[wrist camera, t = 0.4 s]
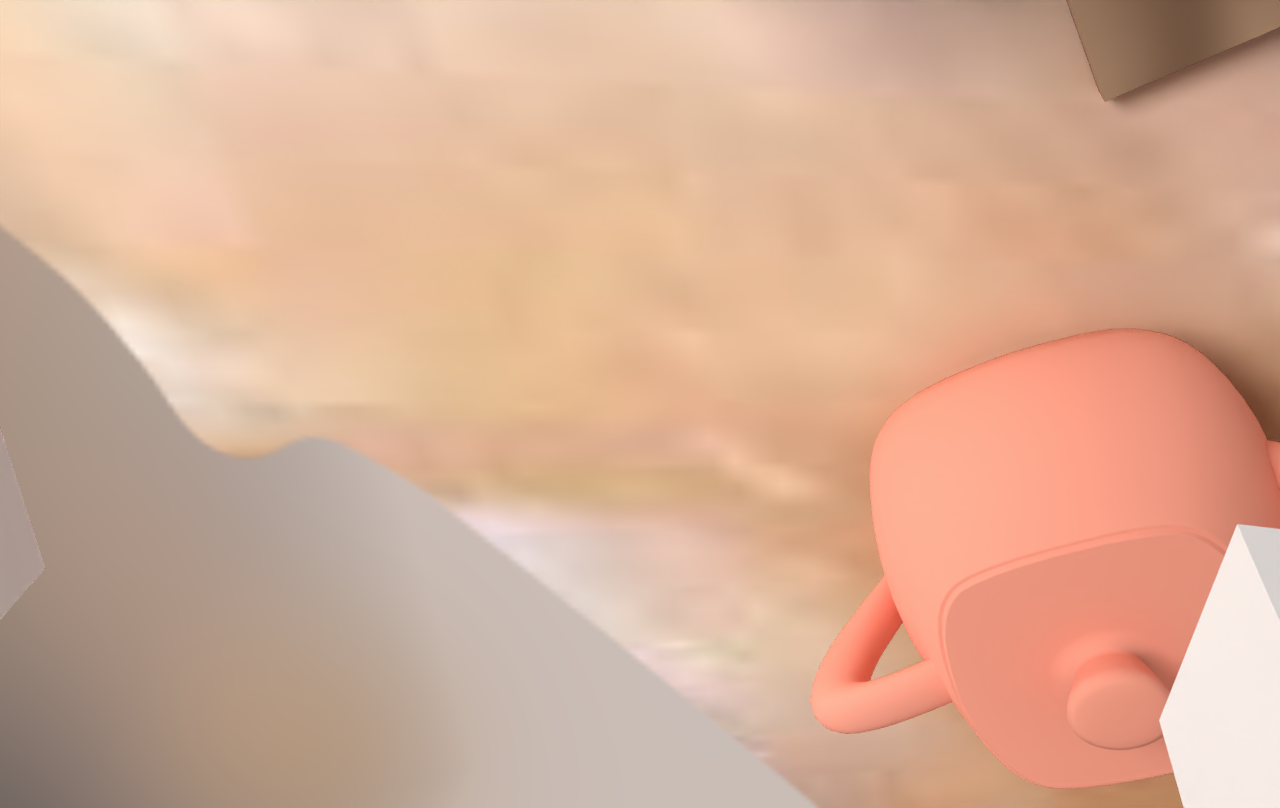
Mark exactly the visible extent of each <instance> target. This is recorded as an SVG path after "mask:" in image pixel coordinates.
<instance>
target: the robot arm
mask: <svg viewBox="0 0 1280 808" xmlns="http://www.w3.org/2000/svg"><path fill="white" fill-rule="evenodd" d="M44 569H45V566H44V563H43V560H42V557H41V554H40V551H39V547H38V544H37V541H36V538H35V535H34V532H33V528H32V525H31V522H30V519H29V516H28V513H27V510H26V507H25V503H24V500H23V497H22V494H21V491H20V488H19V484H18V482H17V478H16V475H15V472H14V469H13V466H12V463H11V459H10V456H9V453H8V450H7V447H6V444H5V441H4V437H3V434H2V431H1V428H0V619H1V618H2V617H3V616H4V615H5V613H6V612H7V611H8V610H9V609H10V608H11V607H12V605H13V604H14V603H15V602H16V601H17V600H18V599H19V598H20V597H21V595H22V594H23V593H24V592H25V591H26V590H27V589H28V587H29V586H30V585H31V584H32V583H33V582H34V581H35V580H36V578H37V577H38V576H39V575H40V574H41V573H42V572H43V570H44ZM1159 722H1160V725H1161V729H1162V732H1163V736H1164V740H1165V743H1166V747H1167V750H1168V754H1169V757H1170V761H1171V764H1172V768H1173V771H1174V775H1175V778H1176V782H1177V785H1178V789H1179V793H1180V796H1181V800H1182V803H1183V807H1184V808H1280V529H1276V528H1267V527H1259V526H1250V525H1242V524H1237V526H1236V528H1235V531H1234V533H1233V536H1232V538H1231V541H1230V544H1229V546H1228V549H1227V551H1226V554H1225V556H1224V559H1223V561H1222V564H1221V566H1220V569H1219V571H1218V574H1217V576H1216V579H1215V581H1214V584H1213V586H1212V589H1211V591H1210V594H1209V596H1208V599H1207V601H1206V604H1205V606H1204V609H1203V611H1202V614H1201V616H1200V619H1199V621H1198V624H1197V626H1196V629H1195V631H1194V634H1193V637H1192V639H1191V642H1190V644H1189V647H1188V649H1187V652H1186V654H1185V657H1184V659H1183V662H1182V664H1181V667H1180V669H1179V672H1178V674H1177V677H1176V679H1175V682H1174V684H1173V687H1172V689H1171V692H1170V694H1169V697H1168V699H1167V702H1166V704H1165V707H1164V709H1163V712H1162V714H1161V717H1160V719H1159Z"/></svg>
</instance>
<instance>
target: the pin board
mask: <svg viewBox="0 0 1280 808" xmlns="http://www.w3.org/2000/svg"><path fill="white" fill-rule="evenodd" d="M1066 1H1067V3H1068V6H1069V9H1070V12H1071V15H1072V17H1073V20H1074V23H1075V26H1076V29H1077V31H1078V34H1079V37H1080V40H1081V43H1082V45H1083V48H1084V51H1085V54H1086V57H1087V59H1088V62H1089V65H1090V68H1091V71H1092V73H1093V76H1094V79H1095V82H1096V85H1097V87H1098V90H1099V92H1100V94H1101V96H1102V98H1103V99H1104V101H1108V100H1110V99H1112V98H1115V97H1117V96H1119V95H1122V94H1124V93H1127V92H1129V91H1131V90H1134V89H1136V88H1138V87H1141V86H1143V85H1145V84H1148V83H1150V82H1152V81H1155V80H1157V79H1159V78H1162V77H1164V76H1166V75H1169V74H1171V73H1173V72H1176V71H1178V70H1181V69H1183V68H1185V67H1188V66H1190V65H1192V64H1195V63H1197V62H1199V61H1202V60H1204V59H1206V58H1209V57H1211V56H1213V55H1216V54H1218V53H1220V52H1223V51H1225V50H1228V49H1230V48H1232V47H1235V46H1237V45H1239V44H1242V43H1244V42H1246V41H1249V40H1251V39H1253V38H1256V37H1258V36H1260V35H1263V34H1265V33H1267V32H1270V31H1272V30H1275V29H1277V28H1279V27H1280V0H1066Z"/></svg>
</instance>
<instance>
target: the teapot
mask: <svg viewBox="0 0 1280 808" xmlns="http://www.w3.org/2000/svg"><path fill="white" fill-rule="evenodd" d="M870 494H871V505H872V516H873V525H874V530H875V536H876V541H877V546H878V551H879V555H880V560H881V563H882V566H883V570H884V573H885V575H884V577H883V578H882V579H881V581H880V582H879V583H878V584H877V586H876V587H875V588H874V589H873V590H872V592H871V593H870V594H869V595H868V597H867V598H866V599H865V600H864V602H863V603H862V604H861V606H860V607H859V608H858V610H857V611H856V612H855V613H854V615H853V616H852V617H851V619H850V620H849V621H848V623H847V624H846V625H845V627H844V628H843V629H842V631H841V632H840V634H839V635H838V636H837V638H836V639H835V641H834V642H833V644H832V645H831V646H830V648H829V650H828V651H827V653H826V655H825V657H824V658H823V660H822V662H821V665H820V667H819V669H818V671H817V674H816V677H815V680H814V683H813V686H812V691H811V697H810V698H811V706H812V710H813V713H814V715H815V717H816V719H817V720H818V721H819V722H820V723H821V724H822V725H823V726H824V727H825V728H827V729H829V730H831V731H834V732H839V733H845V734H851V733H862V732H867V731H871V730H876V729H880V728H884V727H887V726H890V725H894V724H897V723H900V722H902V721H905V720H908V719H911V718H914V717H916V716H919V715H921V714H924V713H926V712H929V711H932V710H934V709H936V708H939V707H941V706H944V705H946V704H948V703H951V702H953V704H954V705H955V706H956V708H957V709H958V711H959V712H960V713H961V715H962V716H963V717H964V719H965V720H966V721H967V722H968V724H969V725H970V726H971V728H972V729H973V730H974V731H975V733H976V734H977V735H978V736H979V738H980V739H981V740H982V741H983V742H984V744H985V745H986V746H987V747H988V748H989V749H990V751H991V752H992V753H993V754H994V755H995V756H996V757H997V758H998V759H999V760H1000V761H1001V762H1002V763H1003V764H1004V765H1005V766H1006V767H1007V768H1009V769H1010V770H1011V771H1012V772H1013V773H1015V774H1017V775H1018V776H1020V777H1021V778H1023V779H1024V780H1027V781H1029V782H1031V783H1034V784H1036V785H1040V786H1044V787H1049V788H1066V789H1068V788H1083V787H1094V786H1102V785H1110V784H1118V783H1124V782H1130V781H1136V780H1142V779H1147V778H1152V777H1157V776H1162V775H1167V774H1171V773H1174V771H1173V768H1172V764H1171V761H1170V757H1169V754H1168V750H1167V747H1166V743H1165V740H1164V736H1163V732H1162V729H1161V725H1160V722H1159V719H1160V717H1161V714H1162V712H1163V709H1164V707H1165V704H1166V702H1167V699H1168V697H1169V694H1170V692H1171V689H1172V687H1173V684H1174V682H1175V679H1176V677H1177V674H1178V672H1179V669H1180V667H1181V664H1182V662H1183V659H1184V657H1185V654H1186V652H1187V649H1188V647H1189V644H1190V642H1191V639H1192V637H1193V634H1194V631H1195V629H1196V626H1197V624H1198V621H1199V619H1200V616H1201V614H1202V611H1203V609H1204V606H1205V604H1206V601H1207V599H1208V596H1209V594H1210V591H1211V589H1212V586H1213V584H1214V581H1215V579H1216V576H1217V574H1218V571H1219V569H1220V566H1221V564H1222V561H1223V559H1224V556H1225V554H1226V551H1227V549H1228V546H1229V544H1230V541H1231V538H1232V536H1233V533H1234V531H1235V528H1236V526H1237V524H1242V525H1250V526H1259V527H1267V528H1276V529H1280V442H1275V441H1270V440H1267V438H1266V436H1265V434H1264V432H1263V430H1262V428H1261V426H1260V424H1259V422H1258V420H1257V418H1256V417H1255V415H1254V414H1253V412H1252V411H1251V409H1250V408H1249V406H1248V405H1247V403H1246V402H1245V400H1244V399H1243V397H1242V396H1241V395H1240V393H1239V392H1238V391H1237V390H1236V388H1235V387H1234V386H1233V385H1232V383H1231V382H1230V381H1229V380H1228V378H1227V377H1226V376H1225V375H1224V374H1223V373H1222V372H1221V371H1220V370H1219V369H1218V368H1217V367H1216V366H1215V365H1214V364H1213V363H1212V362H1211V361H1210V360H1209V359H1208V358H1206V357H1205V356H1204V355H1203V354H1202V353H1200V352H1199V351H1197V350H1196V349H1194V348H1193V347H1191V346H1190V345H1188V344H1187V343H1185V342H1184V341H1182V340H1179V339H1177V338H1174V337H1172V336H1169V335H1166V334H1164V333H1158V332H1153V331H1147V330H1142V329H1109V330H1103V331H1097V332H1091V333H1085V334H1079V335H1075V336H1071V337H1067V338H1063V339H1059V340H1055V341H1051V342H1047V343H1043V344H1039V345H1036V346H1032V347H1029V348H1025V349H1022V350H1019V351H1015V352H1012V353H1009V354H1006V355H1003V356H1001V357H998V358H995V359H992V360H990V361H987V362H984V363H981V364H979V365H977V366H974V367H972V368H969V369H967V370H965V371H962V372H960V373H957V374H955V375H953V376H950V377H948V378H946V379H944V380H942V381H940V382H938V383H936V384H934V385H932V386H930V387H928V388H926V389H924V390H922V391H921V392H919V393H917V394H916V395H915V396H913V397H912V398H911V399H909V400H908V401H907V402H905V403H904V404H903V405H901V406H900V407H899V408H898V409H896V410H895V411H894V413H893V414H892V415H891V416H890V417H889V419H888V420H887V421H886V422H885V424H884V425H883V427H882V429H881V431H880V433H879V435H878V437H877V439H876V441H875V443H874V448H873V452H872V457H871V462H870ZM902 622H903V623H904V626H905V628H906V630H907V632H908V635H909V636H910V638H911V640H912V642H913V643H914V645H915V647H916V649H917V650H918V652H919V654H920V656H921V657H922V659H923V660H924V661H922V662H920V663H918V664H915V665H913V666H910V667H908V668H905V669H903V670H900V671H898V672H895V673H892V674H890V675H887V676H884V677H881V678H878V679H874V680H870V679H871V676H872V674H873V671H874V669H875V667H876V665H877V663H878V661H879V659H880V657H881V655H882V653H883V652H884V650H885V649H886V647H887V645H888V644H889V642H890V641H891V639H892V638H893V636H894V635H895V633H896V632H897V630H898V629H899V627H900V626H901V624H902Z"/></svg>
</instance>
